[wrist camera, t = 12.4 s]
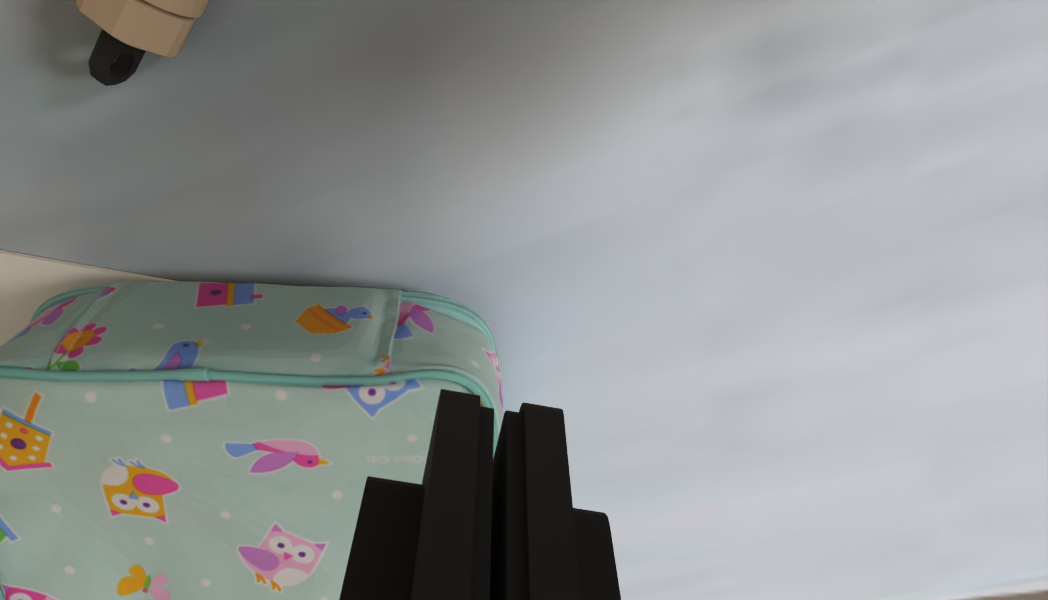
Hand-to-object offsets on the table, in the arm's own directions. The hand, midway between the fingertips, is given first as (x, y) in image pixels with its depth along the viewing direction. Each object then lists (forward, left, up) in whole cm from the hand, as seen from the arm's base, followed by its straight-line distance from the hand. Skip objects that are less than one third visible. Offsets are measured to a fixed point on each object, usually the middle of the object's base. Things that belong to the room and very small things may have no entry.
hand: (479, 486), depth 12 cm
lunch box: (+14, -10, -28) cm, 33 cm away
